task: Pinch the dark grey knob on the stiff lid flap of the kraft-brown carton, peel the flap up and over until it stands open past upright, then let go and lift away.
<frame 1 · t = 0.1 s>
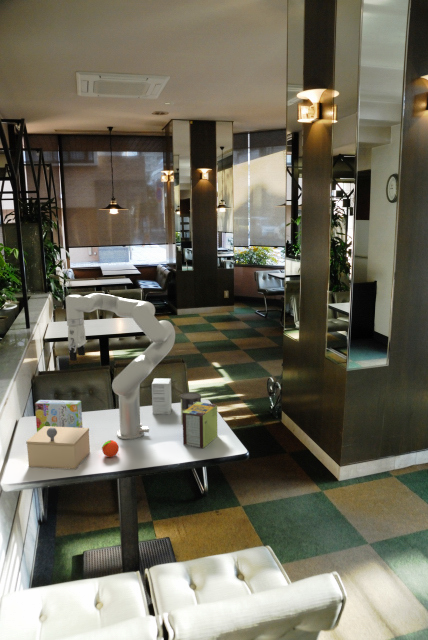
hand: (77, 357, 237), 37 cm above the table, tool pointing down, fingers open, 9 cm apart
snack box: (59, 431, 245), on the table
carton: (60, 459, 215), on the table
clementine: (109, 457, 218), on the table
protein box: (200, 440, 234), on the table
lid flap: (58, 429, 213), point 13 cm above the table, hinge at 0.0°
coffee can: (191, 422, 255), on the table
supplement box: (162, 411, 271), on the table
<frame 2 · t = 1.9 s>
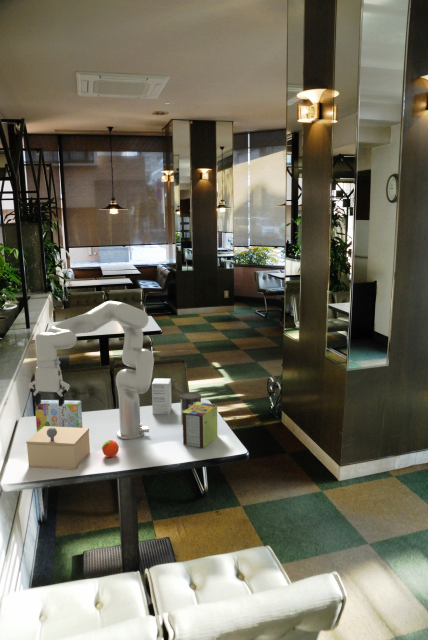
hand: (49, 404, 205), 26 cm above the table, tool pointing down, fingers open, 9 cm apart
nothing on the table moved.
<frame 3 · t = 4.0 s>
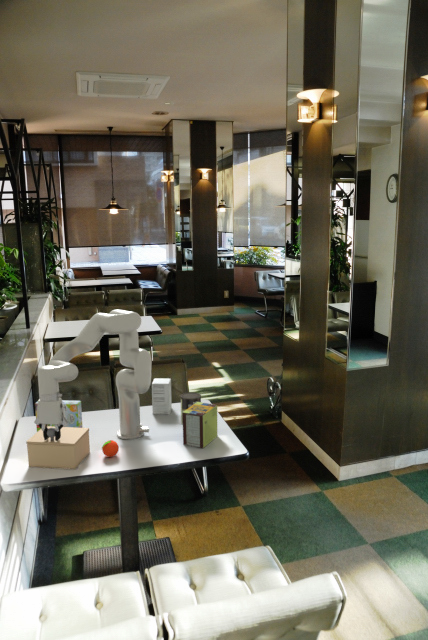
hand: (52, 438, 207), 12 cm above the table, tool pointing down, fingers closed on lid flap, 4 cm apart
lid flap: (58, 429, 213), point 13 cm above the table, hinge at 0.0°, touching gripper
everything else where it was.
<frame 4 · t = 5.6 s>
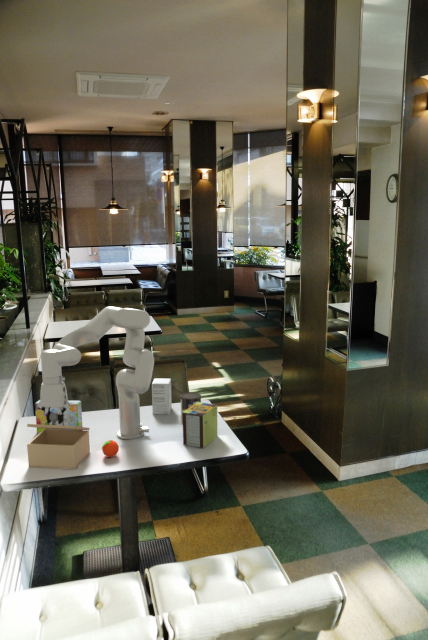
hand: (55, 422, 210), 18 cm above the table, tool pointing down, fingers closed on lid flap, 4 cm apart
lid flap: (60, 420, 214), point 16 cm above the table, hinge at 24.9°, touching gripper
everything else where it was.
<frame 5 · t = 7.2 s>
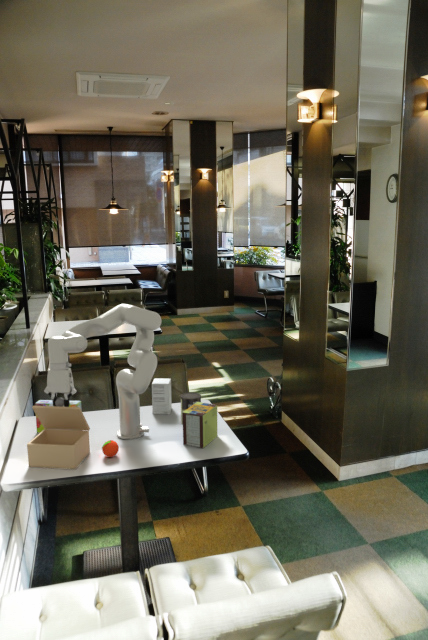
hand: (61, 407, 216), 22 cm above the table, tool pointing down, fingers closed on lid flap, 4 cm apart
lid flap: (63, 412, 218), point 18 cm above the table, hinge at 54.0°, touching gripper
everything else where it was.
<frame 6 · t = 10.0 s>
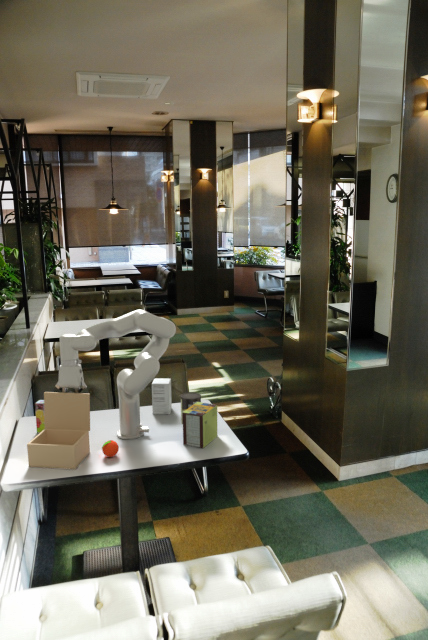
hand: (71, 401, 227), 20 cm above the table, tool pointing down, fingers open, 4 cm apart
lid flap: (69, 409, 224), point 18 cm above the table, hinge at 96.2°
everything else where it was.
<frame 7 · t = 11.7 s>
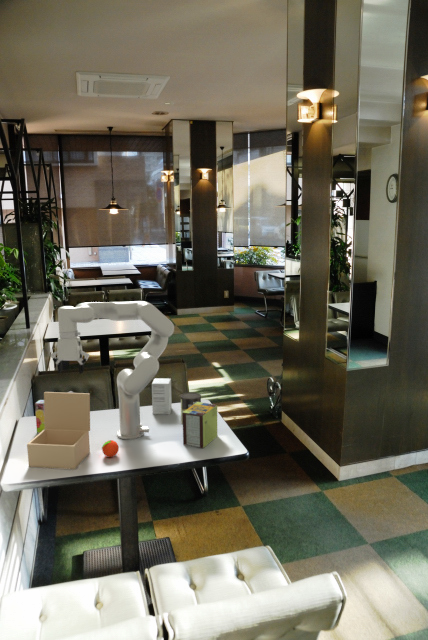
hand: (71, 372, 225), 34 cm above the table, tool pointing down, fingers open, 9 cm apart
nothing on the table moved.
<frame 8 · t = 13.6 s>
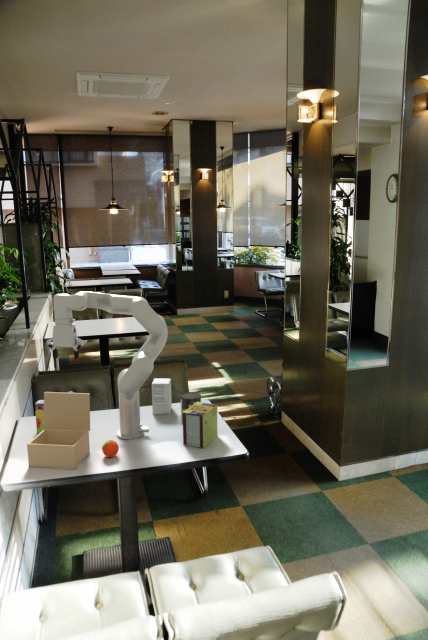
hand: (66, 358, 229), 38 cm above the table, tool pointing down, fingers open, 9 cm apart
nothing on the table moved.
at the end: lid flap at +96° (first picture: +0°); the gripper is holding nothing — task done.
